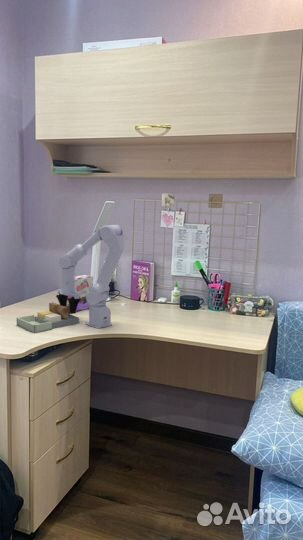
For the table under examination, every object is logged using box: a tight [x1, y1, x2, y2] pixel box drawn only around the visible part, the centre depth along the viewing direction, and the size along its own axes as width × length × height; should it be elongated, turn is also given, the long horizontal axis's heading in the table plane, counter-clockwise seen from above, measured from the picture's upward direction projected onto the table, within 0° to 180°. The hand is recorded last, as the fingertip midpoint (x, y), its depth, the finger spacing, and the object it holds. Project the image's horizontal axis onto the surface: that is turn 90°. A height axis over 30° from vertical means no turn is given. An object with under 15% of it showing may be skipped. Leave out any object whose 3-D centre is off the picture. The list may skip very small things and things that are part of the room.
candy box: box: [67, 274, 94, 313], centre depth 210 cm, size 14×6×16 cm, turn 143°
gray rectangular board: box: [16, 314, 80, 334], centre depth 185 cm, size 15×22×3 cm
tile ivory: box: [45, 313, 61, 322], centre depth 182 cm, size 5×5×2 cm
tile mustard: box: [36, 310, 54, 319], centre depth 187 cm, size 5×5×2 cm
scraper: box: [48, 302, 72, 318], centre depth 190 cm, size 12×9×4 cm
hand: (68, 311), depth 191 cm, fingers open, 7 cm apart
